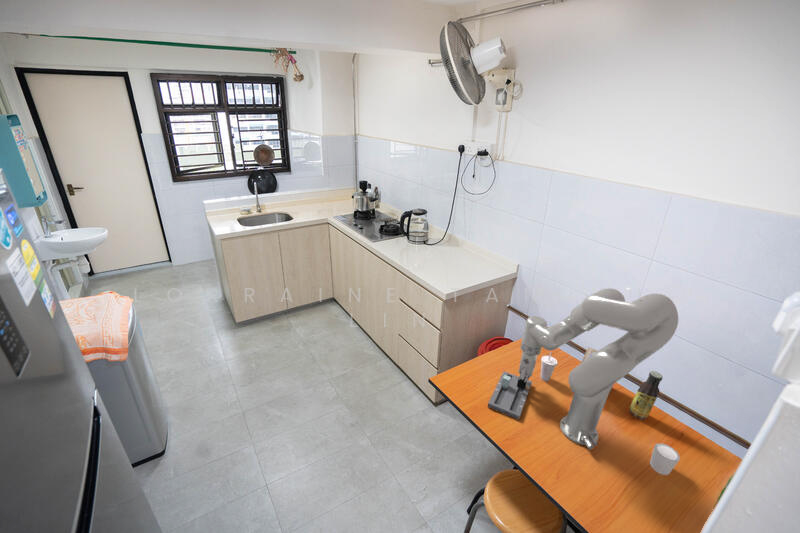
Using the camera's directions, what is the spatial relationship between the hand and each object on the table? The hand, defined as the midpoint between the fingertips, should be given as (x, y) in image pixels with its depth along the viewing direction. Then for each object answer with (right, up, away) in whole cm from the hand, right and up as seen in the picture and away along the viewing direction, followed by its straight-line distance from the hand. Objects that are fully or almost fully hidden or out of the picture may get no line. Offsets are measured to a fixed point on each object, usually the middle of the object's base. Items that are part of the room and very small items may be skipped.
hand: (522, 382), depth 148 cm
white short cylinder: (+35, -19, -29) cm, 49 cm away
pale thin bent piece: (+29, -4, +5) cm, 29 cm away
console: (-6, -5, -2) cm, 8 cm away
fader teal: (-7, -2, 0) cm, 8 cm away
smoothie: (+13, -1, +9) cm, 15 cm away
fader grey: (0, -2, +1) cm, 3 cm away
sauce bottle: (+42, -10, -8) cm, 44 cm away
